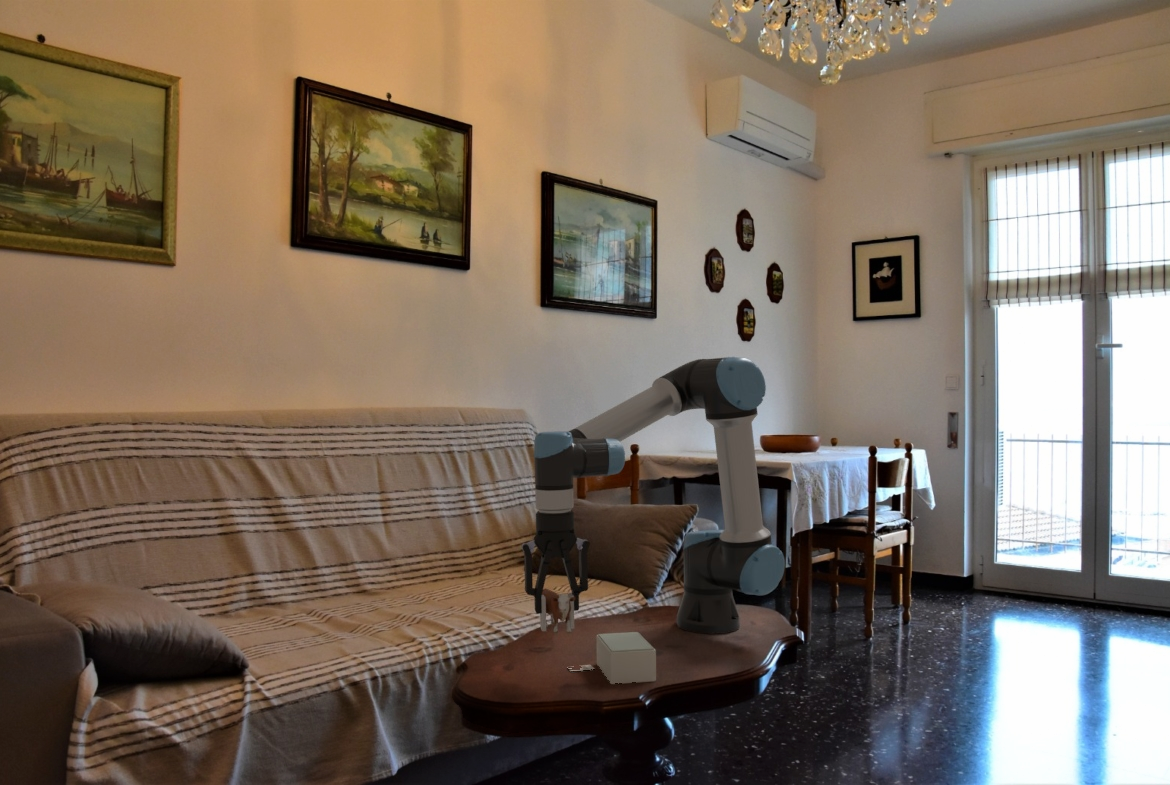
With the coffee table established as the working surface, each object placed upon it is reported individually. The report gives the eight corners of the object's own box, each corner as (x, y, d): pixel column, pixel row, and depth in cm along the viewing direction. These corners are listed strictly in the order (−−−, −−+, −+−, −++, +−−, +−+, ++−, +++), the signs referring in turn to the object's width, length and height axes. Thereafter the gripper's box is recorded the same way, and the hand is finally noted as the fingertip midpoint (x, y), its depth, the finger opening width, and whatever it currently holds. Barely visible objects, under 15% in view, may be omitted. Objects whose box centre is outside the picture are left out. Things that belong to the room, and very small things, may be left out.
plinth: (638, 661, 183) (638, 631, 183) (656, 681, 170) (655, 648, 170) (596, 664, 181) (596, 633, 181) (611, 684, 168) (610, 651, 168)
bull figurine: (558, 640, 165) (558, 597, 165) (535, 623, 178) (535, 583, 178) (580, 637, 167) (579, 595, 167) (555, 620, 179) (555, 581, 179)
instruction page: (590, 665, 180) (590, 664, 180) (595, 669, 177) (595, 668, 177) (567, 668, 179) (567, 667, 179) (571, 672, 176) (571, 671, 176)
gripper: (595, 505, 178) (597, 620, 178) (507, 509, 174) (509, 626, 174) (603, 510, 170) (605, 629, 170) (511, 515, 167) (514, 637, 167)
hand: (557, 628), depth 172 cm, fingers closed on bull figurine, 5 cm apart
